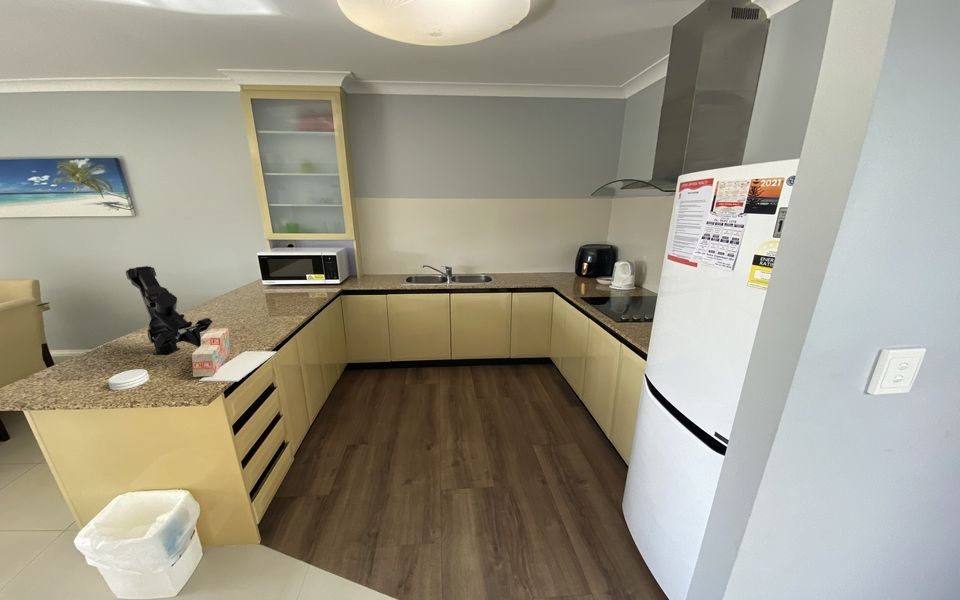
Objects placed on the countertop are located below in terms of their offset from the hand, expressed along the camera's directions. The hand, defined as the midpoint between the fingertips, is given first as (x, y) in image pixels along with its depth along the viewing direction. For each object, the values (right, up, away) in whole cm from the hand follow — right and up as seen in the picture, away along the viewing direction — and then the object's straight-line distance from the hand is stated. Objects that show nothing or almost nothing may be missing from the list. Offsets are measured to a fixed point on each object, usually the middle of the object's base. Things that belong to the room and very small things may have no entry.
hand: (201, 346), depth 128 cm
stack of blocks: (+2, -8, +3) cm, 9 cm away
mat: (+13, -8, +4) cm, 16 cm away
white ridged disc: (-17, -12, -10) cm, 24 cm away
